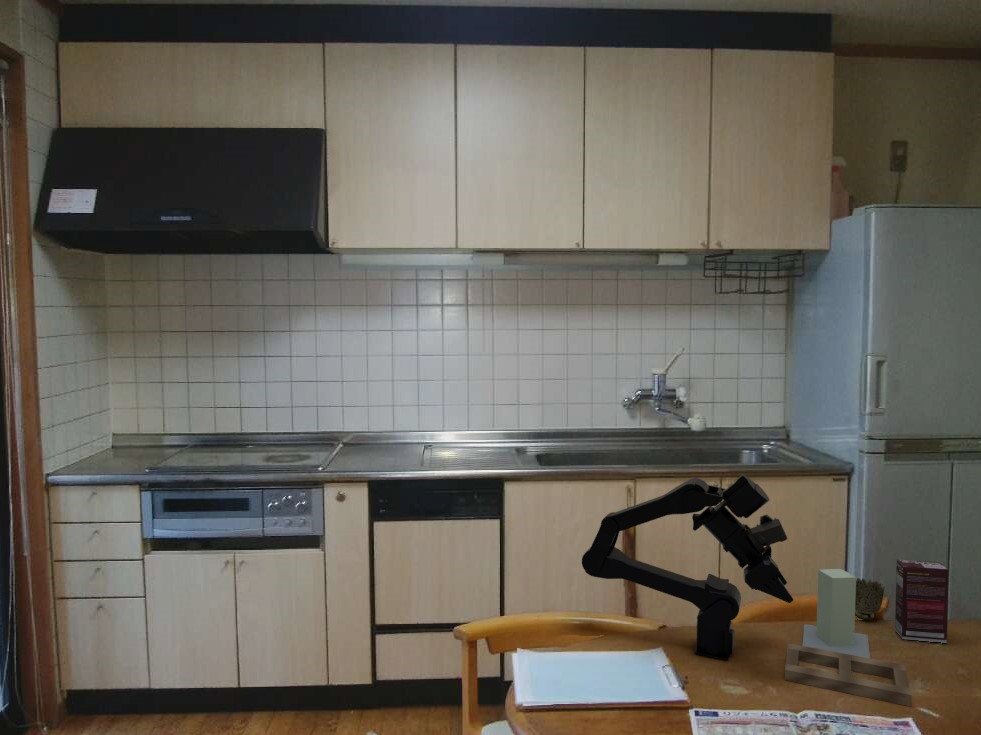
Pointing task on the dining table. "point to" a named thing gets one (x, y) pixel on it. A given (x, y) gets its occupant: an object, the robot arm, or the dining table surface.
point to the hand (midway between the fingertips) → (788, 592)
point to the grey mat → (857, 649)
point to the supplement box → (921, 600)
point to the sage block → (836, 607)
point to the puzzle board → (848, 674)
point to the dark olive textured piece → (868, 598)
